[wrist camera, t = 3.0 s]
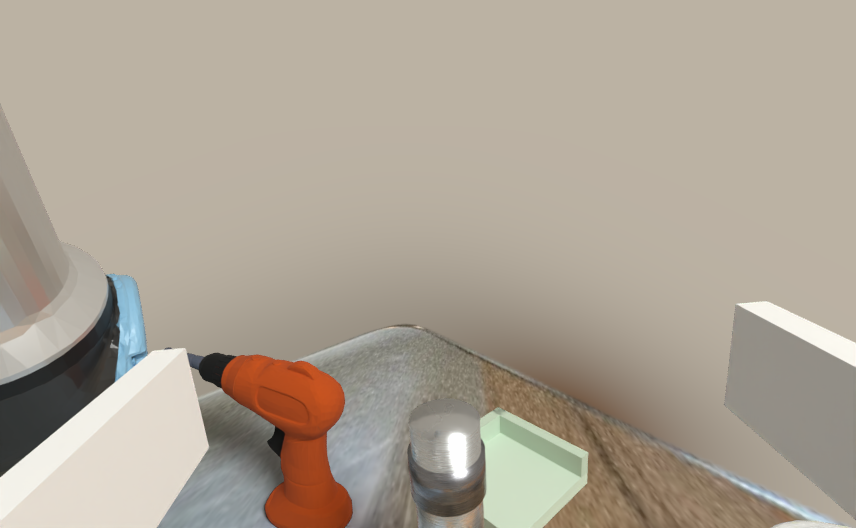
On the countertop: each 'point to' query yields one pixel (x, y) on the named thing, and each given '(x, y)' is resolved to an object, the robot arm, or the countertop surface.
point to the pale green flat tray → (527, 472)
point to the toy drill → (289, 431)
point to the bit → (447, 464)
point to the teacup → (807, 525)
